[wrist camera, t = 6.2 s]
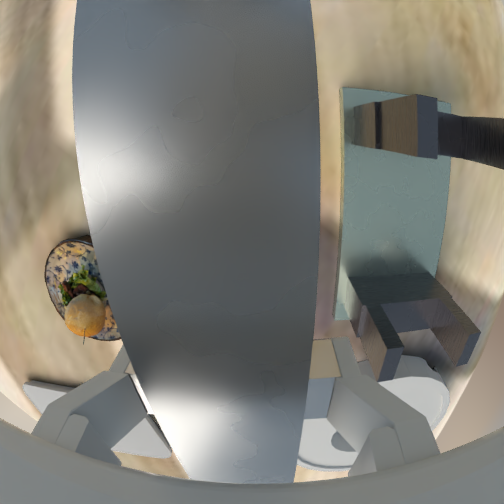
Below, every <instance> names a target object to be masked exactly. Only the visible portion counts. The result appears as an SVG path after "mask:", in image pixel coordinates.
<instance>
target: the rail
mask: <svg viewBox="0 0 504 504" xmlns="http://www.w3.org/2000/svg"><path fill="white" fill-rule="evenodd" d="M72 87H73V114H74V129H75V140H76V150H77V159H78V166H79V174H80V181H81V187H82V193H83V199H84V204H85V210H86V215H87V220H88V225H89V229H90V234H91V238H92V243H93V247H94V251H95V255H96V259H97V263H98V267H99V270H100V274H101V277H102V281H103V284H104V288H105V291H106V294H107V298H108V301H109V304H110V307H111V310H112V313H113V316H114V319H115V322H116V325H117V328H118V331H119V333H120V336H121V339H122V341H123V344H124V347H125V349H126V352H127V354H128V357H129V360H130V362H131V364H132V367H133V369H134V372H135V374H136V376H137V379H138V381H139V383H140V386H141V388H142V390H143V392H144V394H145V397H146V399H147V401H148V403H149V405H150V407H151V409H152V411H153V413H154V415H155V417H156V419H157V421H158V423H159V425H160V427H161V429H162V431H163V433H164V435H165V437H166V438H167V440H168V442H169V444H170V446H171V447H172V449H173V451H174V453H175V455H176V456H177V458H178V460H179V461H180V463H181V465H182V466H183V468H184V470H185V471H186V473H187V475H188V476H189V478H190V479H193V480H202V481H212V482H225V483H250V484H272V483H293V481H294V476H295V471H296V465H297V459H298V453H299V447H300V441H301V435H302V428H303V421H304V414H305V407H306V399H307V391H308V383H309V375H310V366H311V356H312V346H313V335H314V323H315V311H316V296H317V280H318V261H319V236H320V123H319V99H318V81H317V66H316V53H315V41H314V31H313V21H312V12H311V4H310V0H77V7H76V16H75V26H74V40H73V66H72Z"/></svg>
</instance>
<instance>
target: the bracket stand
mask: <svg viewBox="0 0 504 504" xmlns="http://www.w3.org/2000/svg"><path fill="white" fill-rule="evenodd" d="M339 94H340V118H341V203H340V227H339V245H338V260H337V273H336V284H335V295H334V305H333V314H332V315H333V318H334V320H348V319H350V322H351V324H352V327H353V329H354V332H355V334H356V337H360V339H361V342H362V344H363V347H364V349H365V352H366V355H367V357H368V360H369V362H370V365H371V368H372V370H373V373H374V376H375V379H376V381H377V382H383V381H389V380H393V378H394V376H395V373H396V370H397V367H398V364H399V361H400V358H401V355H402V352H403V349H404V345H403V344H402V342H401V340H400V338H399V336H398V334H397V333H400V332H408V331H415V330H422V329H428V328H431V330H432V331H433V333H434V334H435V336H436V337H437V339H438V340H439V342H440V343H441V345H442V346H443V348H444V349H445V351H446V352H447V354H448V355H449V357H450V358H451V360H452V362H453V363H454V365H455V366H459V365H463V364H467V362H468V360H469V358H470V356H471V354H472V352H473V349H474V347H475V345H476V343H477V340H478V338H479V336H480V333H481V332H480V330H479V329H478V328H477V327H476V326H475V324H474V323H473V322H472V321H471V320H470V318H469V317H468V316H467V315H466V314H465V313H464V312H463V310H462V309H461V308H460V307H459V306H458V305H457V304H456V303H455V301H454V300H453V299H452V295H451V294H450V293H449V292H448V291H447V290H446V289H445V288H444V287H443V286H442V285H441V284H440V283H439V282H438V281H437V280H436V279H435V274H436V269H437V265H438V260H439V255H440V249H441V244H442V238H443V232H444V225H445V218H446V210H447V201H448V191H449V180H450V164H451V157H456V158H462V159H466V160H471V161H475V162H479V163H482V164H486V165H490V166H493V167H497V168H500V169H504V119H502V118H487V117H462V116H457V115H453V114H451V104H449V103H445V102H441V101H437V98H433V97H428V96H423V95H418V94H415V95H404V94H398V93H391V92H384V91H376V90H367V89H358V88H346V87H342V88H340V89H339Z"/></svg>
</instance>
